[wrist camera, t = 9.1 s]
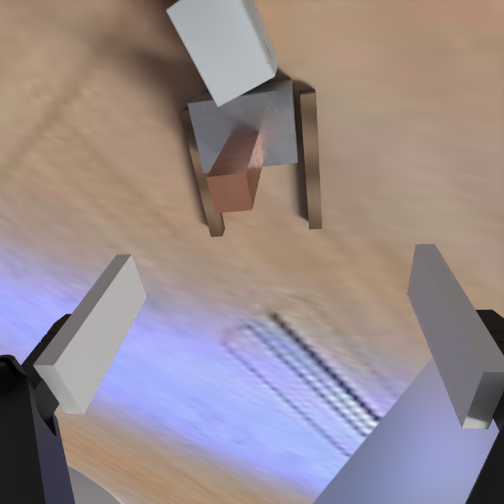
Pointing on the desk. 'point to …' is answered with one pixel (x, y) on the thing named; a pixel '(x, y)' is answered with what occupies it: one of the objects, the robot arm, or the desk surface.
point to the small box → (225, 45)
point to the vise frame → (310, 159)
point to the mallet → (244, 140)
